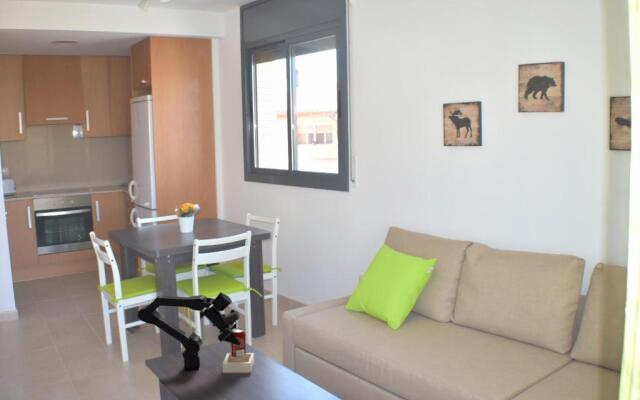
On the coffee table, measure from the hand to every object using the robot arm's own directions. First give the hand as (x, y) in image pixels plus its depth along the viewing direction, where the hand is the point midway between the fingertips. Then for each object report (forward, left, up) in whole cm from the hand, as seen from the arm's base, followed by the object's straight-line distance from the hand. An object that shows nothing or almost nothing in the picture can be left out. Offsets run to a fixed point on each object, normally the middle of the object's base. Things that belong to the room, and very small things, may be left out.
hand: (241, 341), depth 264 cm
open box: (-1, 0, -12) cm, 12 cm away
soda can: (-1, 0, -7) cm, 7 cm away
